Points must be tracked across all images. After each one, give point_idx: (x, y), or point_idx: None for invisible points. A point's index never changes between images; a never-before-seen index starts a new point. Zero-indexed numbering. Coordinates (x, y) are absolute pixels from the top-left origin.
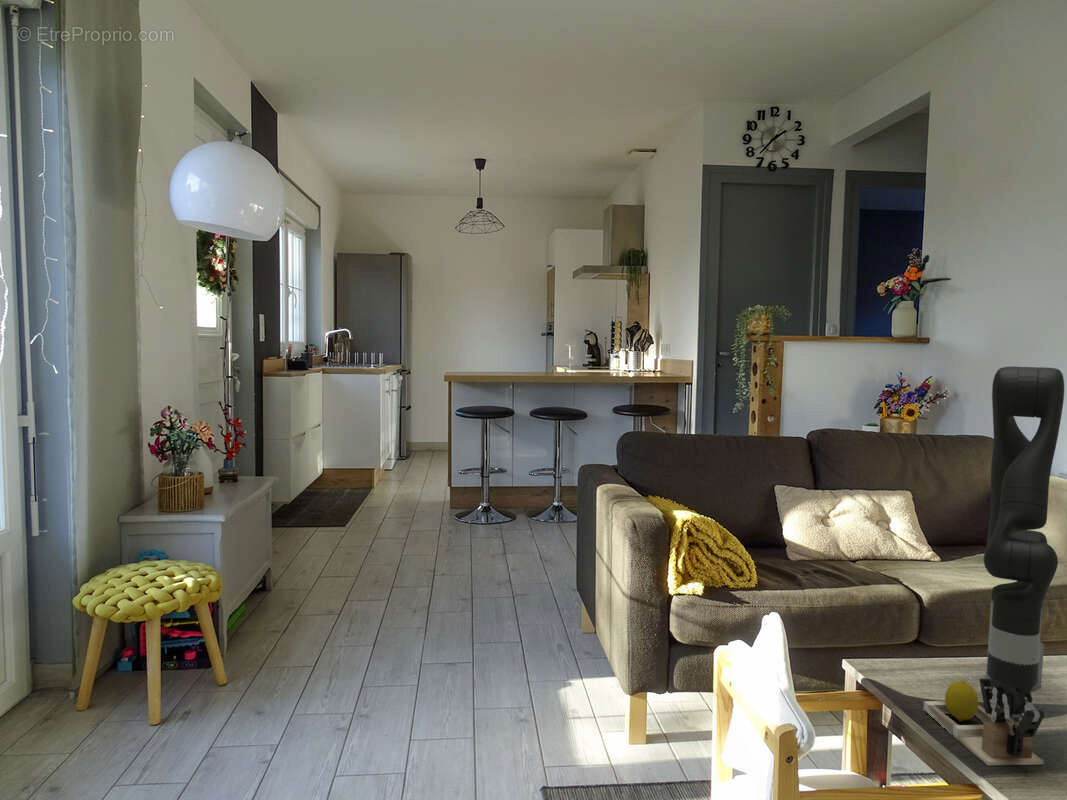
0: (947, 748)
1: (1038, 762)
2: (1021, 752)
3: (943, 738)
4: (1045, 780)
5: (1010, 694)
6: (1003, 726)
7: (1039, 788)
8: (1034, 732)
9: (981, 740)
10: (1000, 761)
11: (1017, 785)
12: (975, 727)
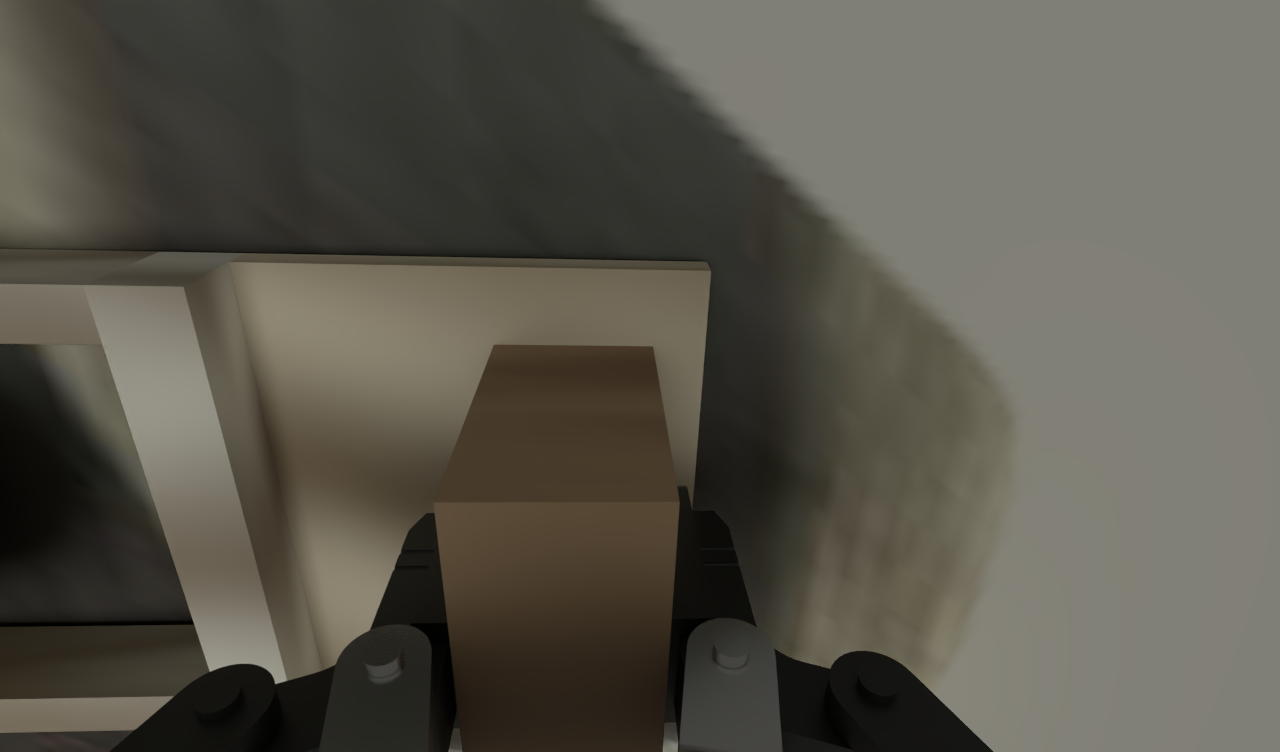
0: (453, 743)
1: (705, 316)
2: (724, 528)
3: None
4: (903, 404)
5: None
6: (568, 745)
7: (974, 508)
8: (964, 742)
9: (361, 553)
10: None
11: (908, 608)
12: (233, 597)
